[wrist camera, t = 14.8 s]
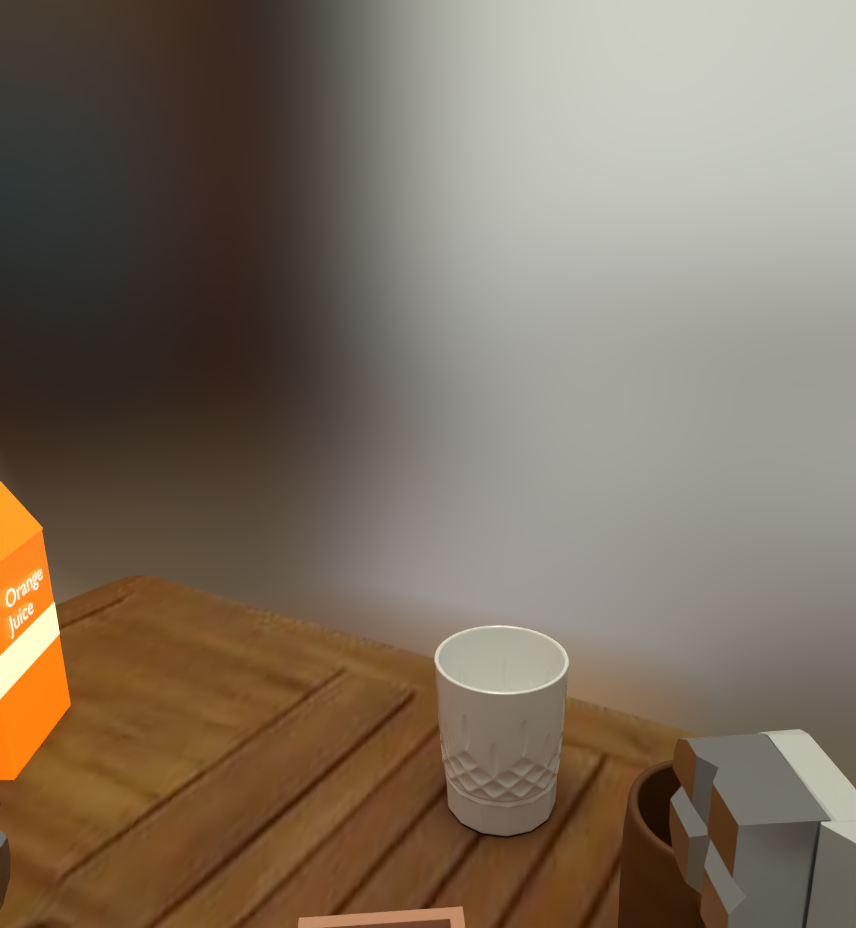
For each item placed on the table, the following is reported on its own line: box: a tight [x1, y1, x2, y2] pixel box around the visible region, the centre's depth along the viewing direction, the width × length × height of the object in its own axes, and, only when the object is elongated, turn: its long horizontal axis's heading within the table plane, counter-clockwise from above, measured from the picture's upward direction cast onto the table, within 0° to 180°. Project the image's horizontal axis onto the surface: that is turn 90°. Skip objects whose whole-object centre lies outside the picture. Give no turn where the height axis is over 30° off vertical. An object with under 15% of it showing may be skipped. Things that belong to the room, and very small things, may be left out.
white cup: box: [435, 625, 569, 836], centre depth 49 cm, size 8×8×10 cm
